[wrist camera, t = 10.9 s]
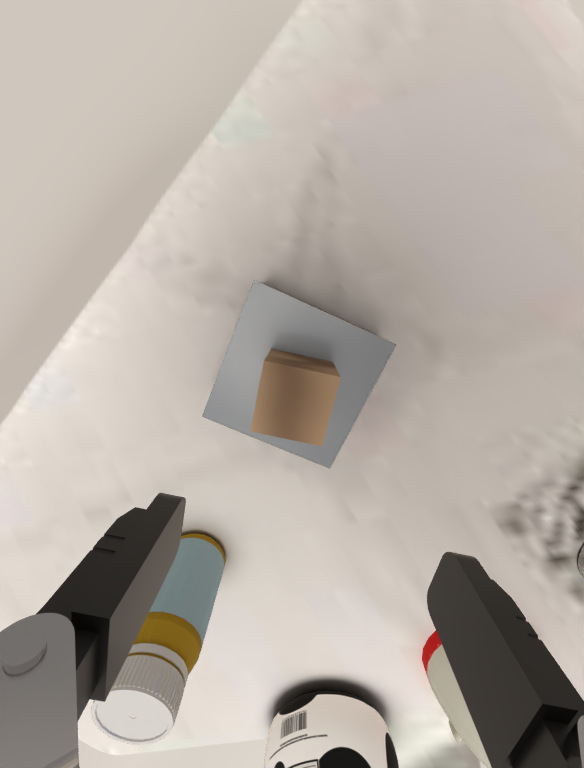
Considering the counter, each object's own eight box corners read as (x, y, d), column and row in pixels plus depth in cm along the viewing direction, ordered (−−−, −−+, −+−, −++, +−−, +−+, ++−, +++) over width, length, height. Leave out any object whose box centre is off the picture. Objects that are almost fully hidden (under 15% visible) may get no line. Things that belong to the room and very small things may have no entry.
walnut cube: (332, 361, 24) (340, 377, 19) (318, 418, 26) (322, 446, 21) (271, 348, 24) (264, 360, 19) (259, 406, 25) (250, 431, 21)
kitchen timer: (481, 702, 43) (573, 909, 28) (401, 664, 41) (455, 862, 27) (552, 641, 39) (699, 841, 25) (468, 597, 38) (572, 783, 23)
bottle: (236, 545, 36) (194, 708, 22) (211, 584, 38) (157, 759, 24) (183, 520, 36) (103, 672, 21) (160, 561, 37) (72, 727, 23)
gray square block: (377, 335, 30) (396, 344, 24) (324, 438, 33) (329, 468, 27) (263, 283, 28) (254, 279, 23) (219, 394, 32) (201, 416, 26)
